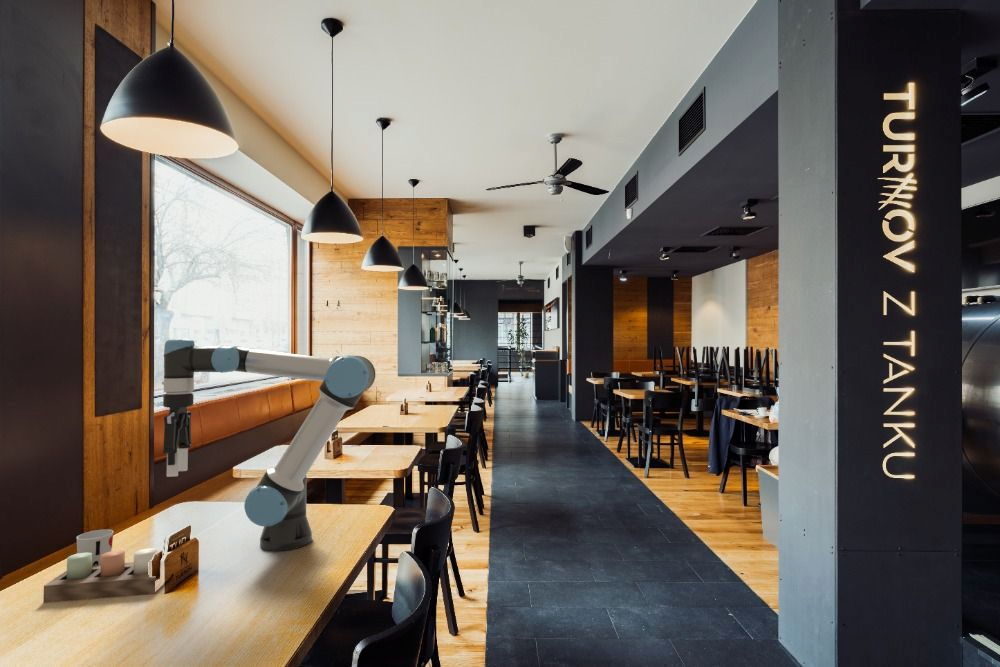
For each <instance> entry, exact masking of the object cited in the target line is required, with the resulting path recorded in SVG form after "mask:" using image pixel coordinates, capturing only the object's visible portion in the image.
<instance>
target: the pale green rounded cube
mask: <svg viewBox="0 0 1000 667" xmlns="http://www.w3.org/2000/svg"><path fill="white" fill-rule="evenodd" d="M66 571H67V580H68V579H81V578H86V577H88V576H90V575H91V574H92V553H88V552H86V553H78V554H77V553H76V554H75V553H74V554H71V555H69V556H67V557H66Z"/></svg>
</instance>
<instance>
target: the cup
mask: <svg viewBox="0 0 1000 667" xmlns="http://www.w3.org/2000/svg"><path fill="white" fill-rule="evenodd" d="M113 540H114V530H112V529H98V530H96V529H95V530H91V531H87V532H84V533H81V534H79V535H77V536H76V551H77V552H76V554H78V553H86V552H88V553H92V565H101V555H102V554H104V553H107V552H111V551H113V550H112V549H113Z"/></svg>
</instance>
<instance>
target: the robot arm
mask: <svg viewBox="0 0 1000 667" xmlns="http://www.w3.org/2000/svg"><path fill="white" fill-rule="evenodd" d="M163 351H164V352H163V381H162V383H161V384H162V386H163V393H165V394H163V397H162V398H163V399H162V400H163V402H162V403H163V404H162V405H163V408H167V409H168V408H169V411H168V415H167V416H164V418H163V419H164V420H163V421H164V431H163V432H164V433H163V449H162V450H163V451H162V454H164V455H165V454H166V477H167V478H168V477H169V478H170V477H178V476H179V472H188V468H189V464H188V463H189V462H188V461H189V448H190V449H191V448H192V429H191V428H192V425H191V424H192V411H189V410H188V407H193V406H194V396H195V395H194V394H193V392H194V390H195V388H194V386H195V373H222V374H223V373H229V372H230V373H233V372H242V373H251V374H258V375H266V376H275V377H282V378H283V377H284V378H289V379H291V378H292V379H297V380H298V379H299V380H306V381H314V382H315V381H316V382H322V383H321V384H320V386H319V387H318V392H319V397H318V399H317V401H316V402H315V403H314V405H313V407H312V408H311V410H310V412H309V414H307V416H306V418H305V419H304V421H303V423H302V424H301V426H300V427H299V429H298V430H297V432H296V434H295V435H294V437H293V439H292V440H291V442H290V443H289V445H288V446H287V448H286V449H285V451H284V453H283V454H282V455H281V457H280V460H278V463H277V464H276V466H272V467H269V468H267V469H266V472H264V474H263V476H262V478H261V479H260V481H259V482H258V484H257V485H256V487H254V488H252V489H251V491H249V493H248V494H247V495H246V497H245V501H244V506H243V507H244V512H245V515H246V517H247V518H248V520H249V521H250V522H251V523H253V524H254V525H257V526H259V527H263V529H262V531H261V535H260V538H259V547H260V548H261V549H263V550H266V551H270V552H271V551H274V552H276V551H277V552H280V551H289V550H294V549H300V548H302V547H304V546H307V545H308V544H309V543H311V542H312V540H313V538H312V537H313V532H312V529H311V526H310V522H309V520H308V517H307V484H308V482H307V480H308V477H307V474H308V473H309V471H310V469H311V468H312V466H313V464H314V463H315V461H316V460H317V458H318V457H319V455H320V453H321V452H322V450H323V448H324V446H325V445H326V444H327V442H328V440H329V439H330V437H331V436H332V434H333V432H334V431H335V430H336V428H337V427H338V424H339V423H340V421H341V419H342V418H343V416H344V414H346V412H347V411H348V410H353V409H355V407H356V405H357V404H358V402H359V400H360V399H361V397H362V396H363V394H364V393H365V392H366V391H367V390H369V389H371V387H372V386H373V385H374V383H375V379H376V369H375V366H374V364H373V363H372V362H371V361H370V360H369V359H368V358H366V357H364V356H361V355H344V356H339V355H334V357H333V358H330V357H329V358H328V357H322V356H315V355H314V356H312V355H304V354H297V353H287V352H282V351H281V352H280V351H271V350H266V349H265V350H264V349H255V348H247V347H243V346H228V345H221V346H220V345H218V346H216V345H214V346H212V345H211V346H210V345H209V346H205V345H204V346H197V345H195V341H194V339H167V340H166V341H165V343H164V349H163Z"/></svg>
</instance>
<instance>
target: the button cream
mask: <svg viewBox="0 0 1000 667" xmlns="http://www.w3.org/2000/svg"><path fill="white" fill-rule="evenodd" d="M156 552H157V553H158V549H157V548H153V547H151V548H143V549H139V550H137V551H135V552H134V553H133V562H134V573H133V574H134V575H136V574H148V562H149V561H150V560H151V559H152V557H153V555H154V554H155V553H156Z"/></svg>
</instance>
